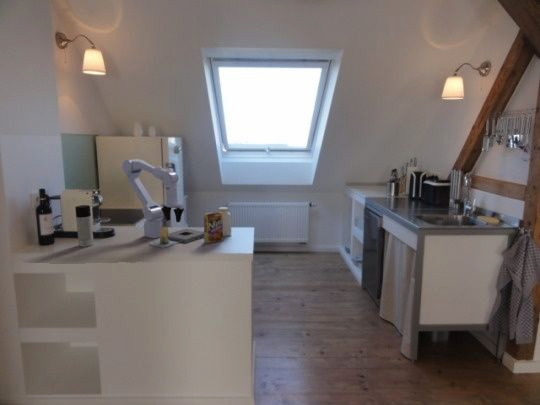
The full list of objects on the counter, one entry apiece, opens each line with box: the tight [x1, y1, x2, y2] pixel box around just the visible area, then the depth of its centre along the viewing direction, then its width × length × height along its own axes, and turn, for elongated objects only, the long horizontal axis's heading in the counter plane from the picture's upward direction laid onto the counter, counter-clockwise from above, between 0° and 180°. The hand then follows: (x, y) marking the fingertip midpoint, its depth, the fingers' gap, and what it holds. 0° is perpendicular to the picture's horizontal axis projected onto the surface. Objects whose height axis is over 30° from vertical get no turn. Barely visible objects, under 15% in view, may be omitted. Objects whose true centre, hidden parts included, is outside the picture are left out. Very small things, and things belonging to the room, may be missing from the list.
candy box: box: [203, 210, 224, 244], centre depth 194 cm, size 9×4×15 cm, turn 123°
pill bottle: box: [218, 206, 232, 237], centre depth 207 cm, size 8×8×15 cm
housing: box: [168, 228, 204, 244], centre depth 203 cm, size 16×16×2 cm
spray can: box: [74, 204, 94, 248], centre depth 188 cm, size 7×7×20 cm
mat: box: [149, 240, 180, 249], centre depth 191 cm, size 10×10×1 cm
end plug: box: [159, 226, 170, 244], centre depth 190 cm, size 4×4×8 cm
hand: (173, 221), depth 199 cm, fingers open, 7 cm apart
